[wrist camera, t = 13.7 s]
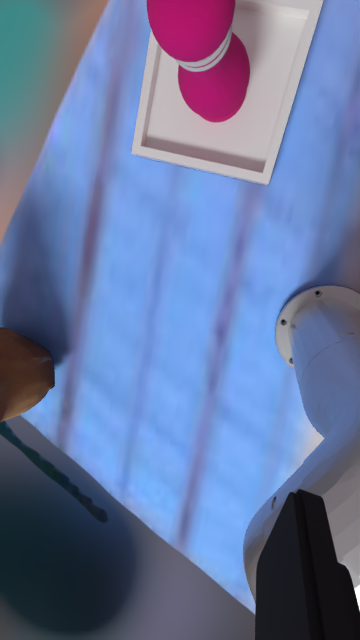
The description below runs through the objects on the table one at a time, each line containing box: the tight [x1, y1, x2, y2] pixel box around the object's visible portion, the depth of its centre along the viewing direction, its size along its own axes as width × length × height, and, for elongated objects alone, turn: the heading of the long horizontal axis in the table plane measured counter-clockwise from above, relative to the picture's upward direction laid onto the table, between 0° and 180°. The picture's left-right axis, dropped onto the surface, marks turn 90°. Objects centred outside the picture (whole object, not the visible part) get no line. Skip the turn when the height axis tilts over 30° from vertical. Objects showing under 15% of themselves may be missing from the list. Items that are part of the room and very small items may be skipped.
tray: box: [132, 0, 324, 186], centre depth 36 cm, size 17×17×2 cm
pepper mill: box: [147, 0, 250, 123], centre depth 27 cm, size 7×7×20 cm
